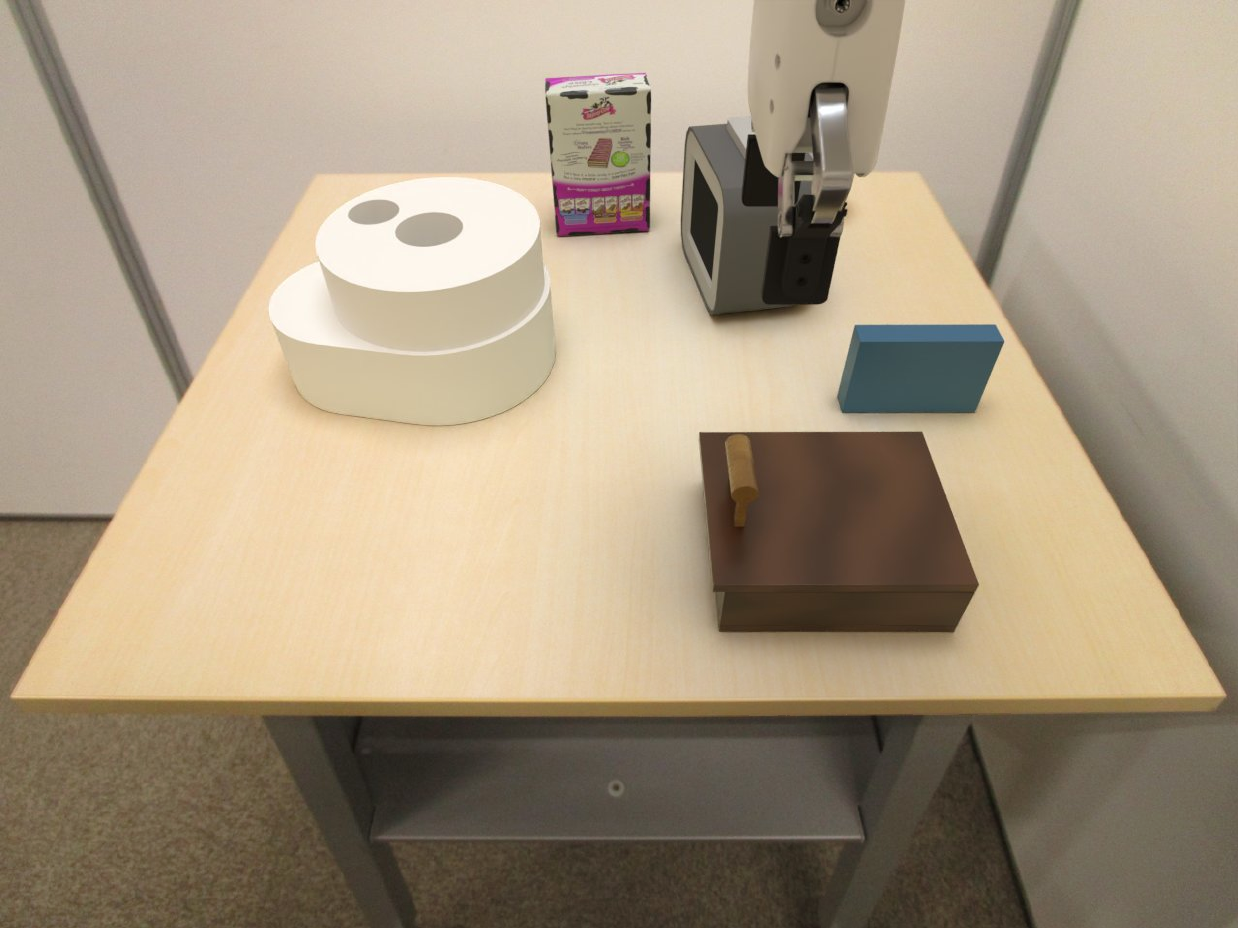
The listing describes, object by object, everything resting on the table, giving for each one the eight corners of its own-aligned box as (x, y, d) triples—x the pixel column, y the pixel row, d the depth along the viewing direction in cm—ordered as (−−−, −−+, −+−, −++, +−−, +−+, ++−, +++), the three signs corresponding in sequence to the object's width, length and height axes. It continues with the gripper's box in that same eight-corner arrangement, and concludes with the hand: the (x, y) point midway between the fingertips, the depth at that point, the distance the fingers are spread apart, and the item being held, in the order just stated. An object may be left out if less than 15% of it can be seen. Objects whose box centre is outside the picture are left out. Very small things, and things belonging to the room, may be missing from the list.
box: (718, 631, 57) (724, 592, 54) (704, 480, 67) (708, 439, 64) (954, 632, 57) (975, 592, 54) (904, 480, 67) (919, 439, 64)
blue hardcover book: (841, 412, 73) (860, 341, 67) (837, 395, 75) (854, 324, 69) (975, 412, 73) (1005, 341, 67) (967, 395, 75) (995, 324, 69)
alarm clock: (679, 242, 94) (686, 106, 82) (773, 234, 95) (793, 98, 84) (713, 326, 82) (728, 180, 71) (820, 314, 84) (851, 170, 72)
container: (306, 311, 85) (264, 188, 75) (545, 289, 87) (535, 167, 77) (281, 443, 71) (225, 313, 61) (566, 412, 73) (556, 282, 64)
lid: (712, 592, 54) (718, 543, 50) (698, 439, 64) (702, 389, 60) (975, 591, 54) (1001, 542, 50) (919, 438, 64) (937, 388, 60)
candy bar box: (645, 211, 99) (648, 70, 87) (650, 232, 95) (653, 88, 84) (553, 216, 98) (543, 75, 86) (555, 237, 95) (545, 93, 83)
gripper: (1011, -92, 25) (886, 348, 38) (886, -181, 37) (822, 174, 50) (770, -91, 25) (723, 348, 38) (723, -180, 37) (699, 174, 50)
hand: (779, 249), depth 44 cm, fingers open, 9 cm apart
